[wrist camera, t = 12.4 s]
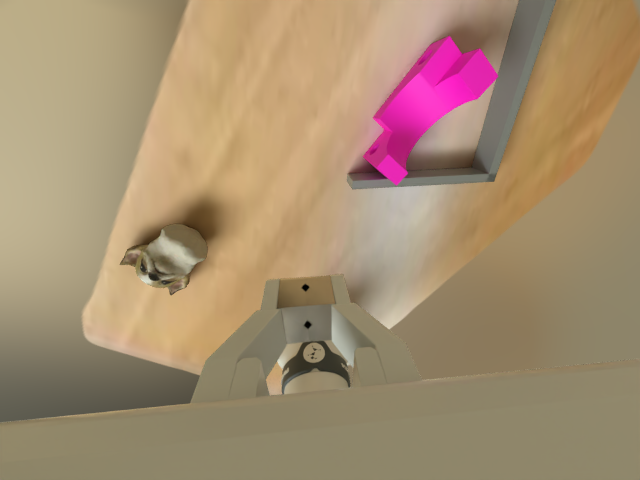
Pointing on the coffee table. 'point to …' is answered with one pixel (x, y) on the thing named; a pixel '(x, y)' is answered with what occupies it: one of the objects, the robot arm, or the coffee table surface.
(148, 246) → the ceramic sculpture
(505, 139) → the box
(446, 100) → the magenta curved bracket
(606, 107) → the coffee table surface
